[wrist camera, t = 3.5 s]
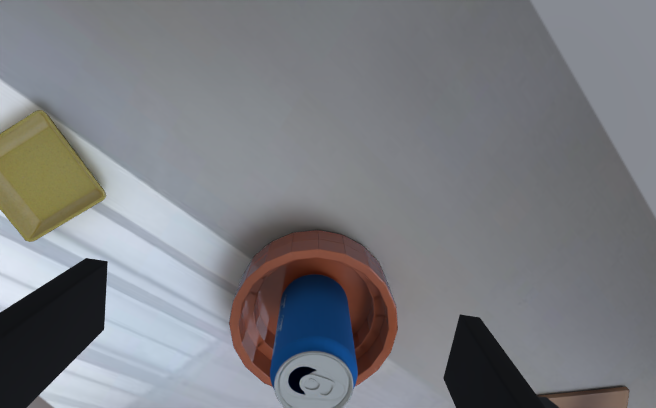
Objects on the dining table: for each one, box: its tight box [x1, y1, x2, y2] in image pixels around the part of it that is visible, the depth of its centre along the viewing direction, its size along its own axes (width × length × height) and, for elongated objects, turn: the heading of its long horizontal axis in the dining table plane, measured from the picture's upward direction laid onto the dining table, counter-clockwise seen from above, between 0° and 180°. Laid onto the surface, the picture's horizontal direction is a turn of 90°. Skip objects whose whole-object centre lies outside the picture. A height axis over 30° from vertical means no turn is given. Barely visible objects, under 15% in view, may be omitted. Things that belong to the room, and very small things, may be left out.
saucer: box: [0, 110, 106, 242], centre depth 36 cm, size 9×9×2 cm
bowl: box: [229, 230, 398, 387], centre depth 39 cm, size 15×15×5 cm
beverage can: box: [270, 274, 358, 408], centre depth 36 cm, size 6×6×12 cm
